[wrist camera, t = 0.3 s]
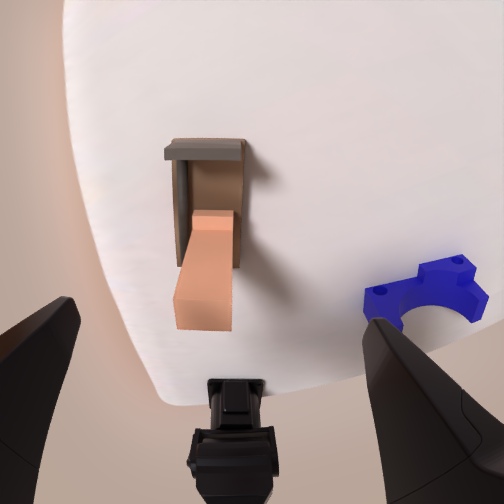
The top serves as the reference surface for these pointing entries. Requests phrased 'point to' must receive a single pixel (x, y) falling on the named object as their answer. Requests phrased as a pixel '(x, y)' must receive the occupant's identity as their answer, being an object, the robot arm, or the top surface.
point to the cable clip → (429, 292)
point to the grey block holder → (206, 185)
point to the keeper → (206, 274)
